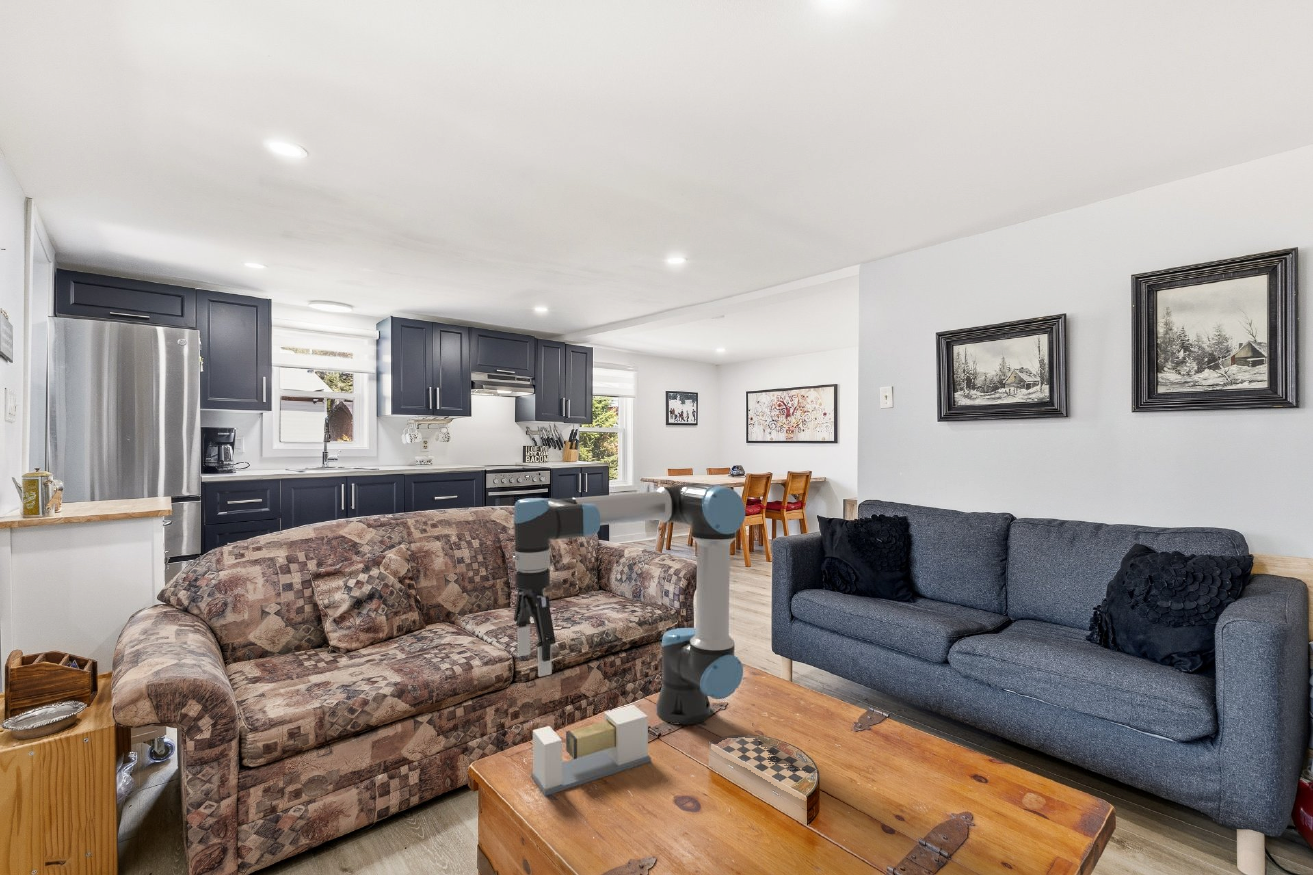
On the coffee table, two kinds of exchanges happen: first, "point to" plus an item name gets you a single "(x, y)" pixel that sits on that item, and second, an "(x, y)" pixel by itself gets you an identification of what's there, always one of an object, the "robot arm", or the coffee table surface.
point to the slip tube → (590, 739)
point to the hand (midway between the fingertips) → (534, 664)
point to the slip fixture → (593, 766)
